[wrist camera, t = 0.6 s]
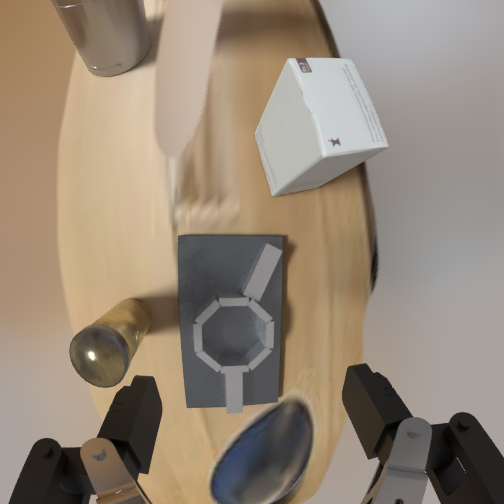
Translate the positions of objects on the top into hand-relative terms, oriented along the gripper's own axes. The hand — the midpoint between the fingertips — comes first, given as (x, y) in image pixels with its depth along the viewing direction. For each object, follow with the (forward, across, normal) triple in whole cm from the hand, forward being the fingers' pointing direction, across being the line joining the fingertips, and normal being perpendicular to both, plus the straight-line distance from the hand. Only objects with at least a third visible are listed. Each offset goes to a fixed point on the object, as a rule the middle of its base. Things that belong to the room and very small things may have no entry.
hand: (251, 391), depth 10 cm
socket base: (+19, +1, +8) cm, 20 cm away
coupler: (+18, +12, +6) cm, 22 cm away
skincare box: (+24, -5, -10) cm, 27 cm away
